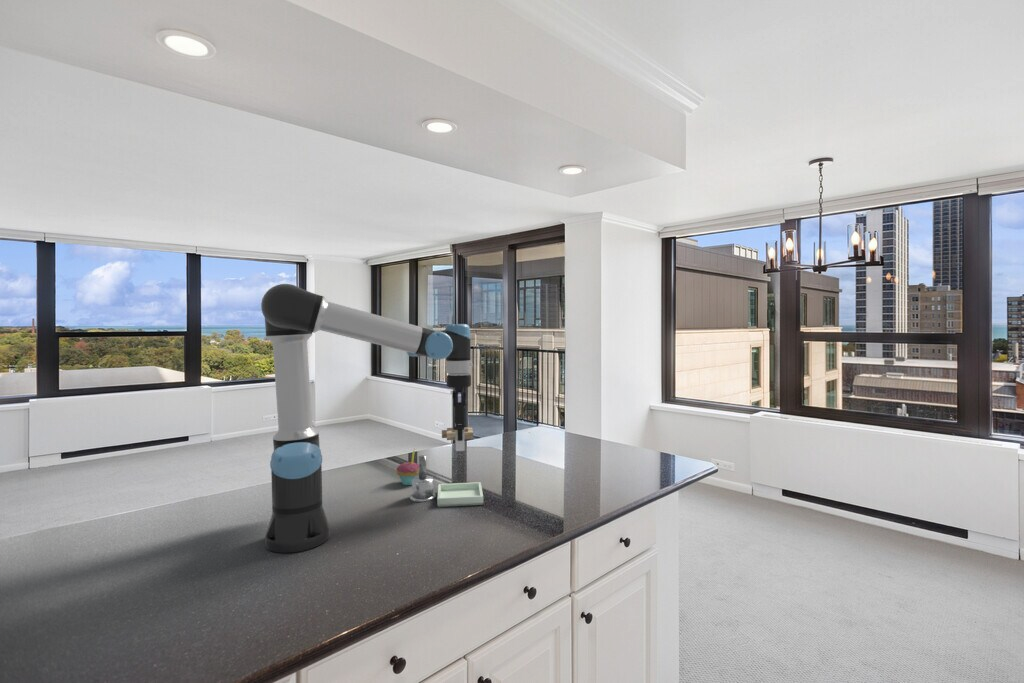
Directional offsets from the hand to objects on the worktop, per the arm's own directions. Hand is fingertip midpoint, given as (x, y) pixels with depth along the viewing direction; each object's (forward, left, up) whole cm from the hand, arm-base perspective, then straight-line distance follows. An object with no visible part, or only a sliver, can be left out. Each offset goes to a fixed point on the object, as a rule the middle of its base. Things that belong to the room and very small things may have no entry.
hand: (459, 447), depth 157 cm
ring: (0, 0, +3) cm, 3 cm away
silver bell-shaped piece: (+2, +12, -16) cm, 20 cm away
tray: (0, 0, -16) cm, 16 cm away
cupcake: (+17, +17, -16) cm, 29 cm away
